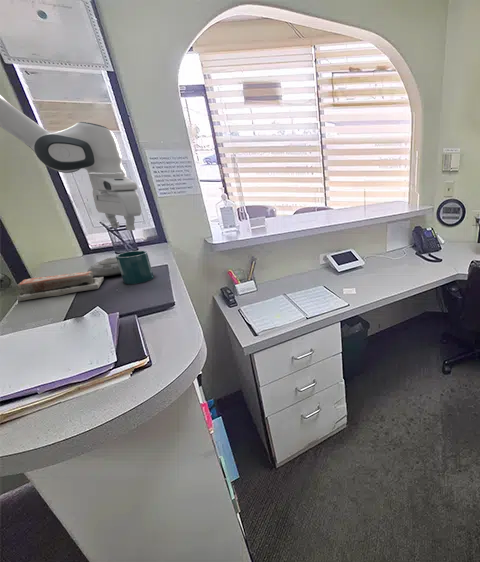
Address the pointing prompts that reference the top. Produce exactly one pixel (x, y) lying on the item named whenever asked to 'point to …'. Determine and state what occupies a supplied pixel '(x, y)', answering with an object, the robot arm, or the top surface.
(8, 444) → the top surface
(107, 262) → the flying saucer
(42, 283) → the packaged product
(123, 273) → the tea cup
